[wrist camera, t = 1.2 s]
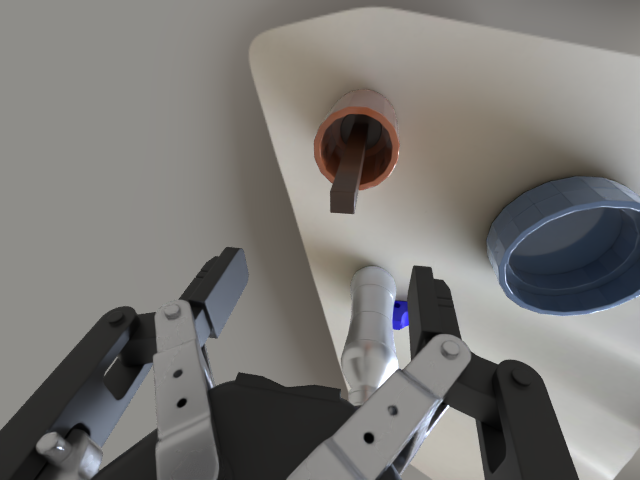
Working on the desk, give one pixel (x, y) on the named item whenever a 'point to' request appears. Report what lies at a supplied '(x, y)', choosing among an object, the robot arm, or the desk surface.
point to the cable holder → (400, 315)
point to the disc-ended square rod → (352, 160)
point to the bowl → (569, 246)
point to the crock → (376, 158)
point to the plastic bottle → (370, 334)
